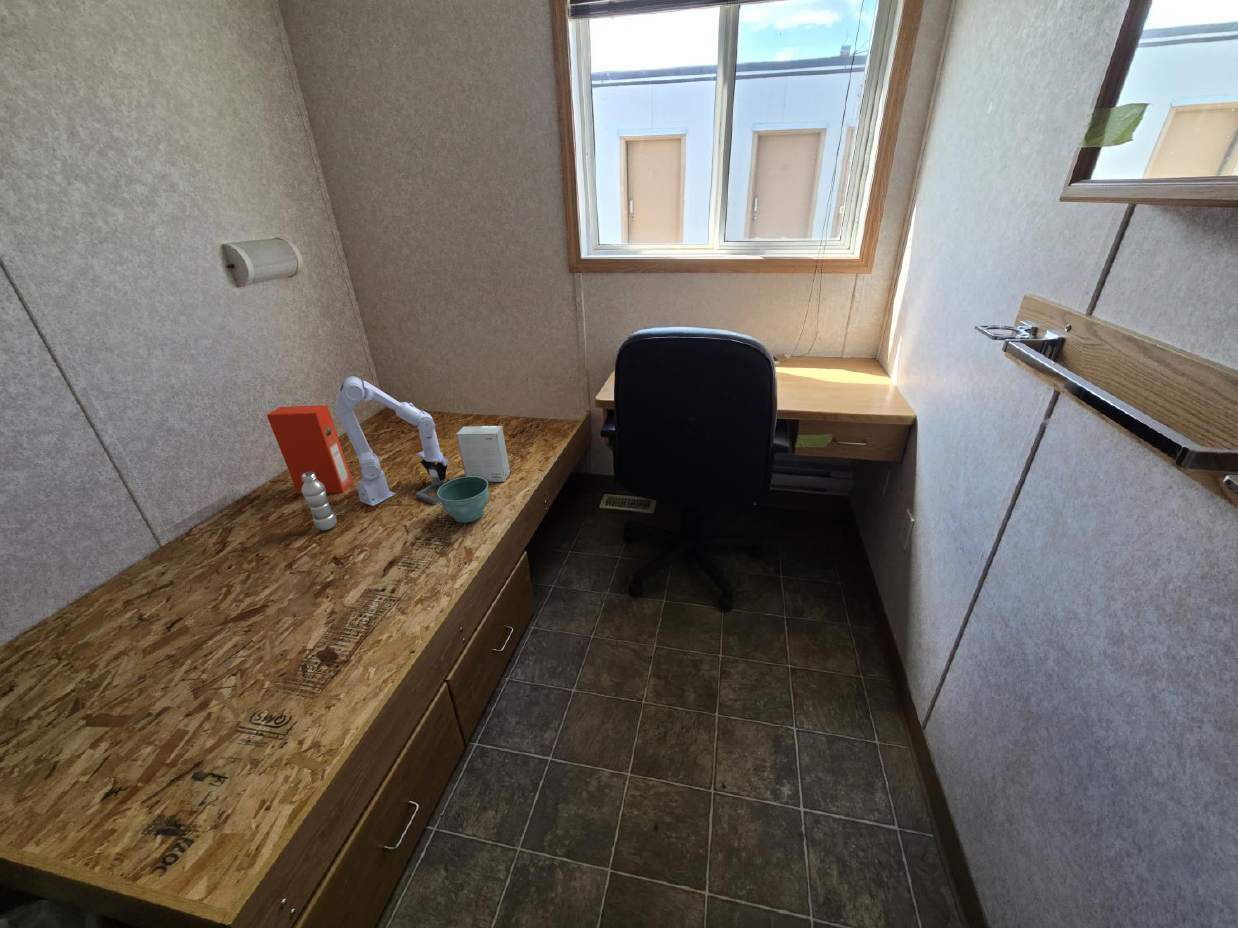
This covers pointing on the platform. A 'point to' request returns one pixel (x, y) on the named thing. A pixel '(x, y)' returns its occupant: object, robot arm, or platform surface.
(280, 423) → the file binder
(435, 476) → the shiny metal cylinder
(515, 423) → the platform surface
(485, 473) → the hard drive box
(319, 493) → the plastic bottle
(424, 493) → the grey rectangular frame
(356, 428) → the robot arm
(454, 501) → the flower pot
